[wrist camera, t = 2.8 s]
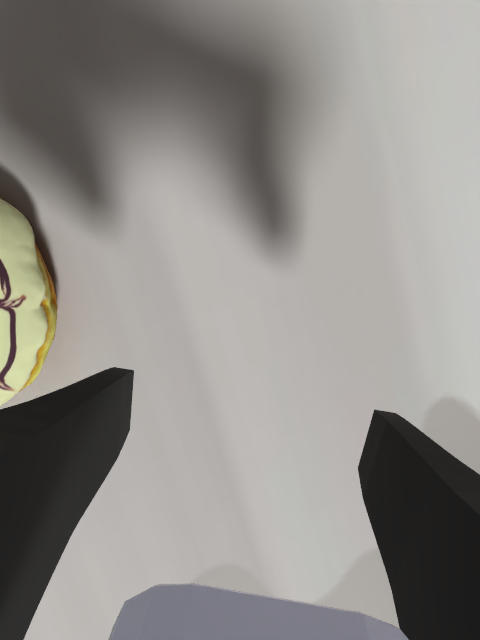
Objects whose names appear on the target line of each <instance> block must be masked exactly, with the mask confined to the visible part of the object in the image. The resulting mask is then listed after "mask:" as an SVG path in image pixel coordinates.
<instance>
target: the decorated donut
mask: <svg viewBox="0 0 480 640" xmlns="http://www.w3.org/2000/svg"><path fill="white" fill-rule="evenodd" d="M56 312H57V297H56V293H55V288H54V284H53V281H52V278H51V277H50V274H49V272H48V270H47V267H46V264H45V263H44V261H43V258H42V255H41V254H40V251H39V249H38V247H37V245H36V243H35V238H34V233H33V230H32V227H31V225H30V223H29V222H28V220H27V219H26V218H25V217H24V215H23V214H22V213H21V212H19V211H18V210H17V209H16V208H14V207H13V206H12V205H10V204H9V203H7V202H5V201H4V200H2V199H0V406H1V405H2V404H4V403H5V402H6V401H8V400H9V399H11V398H12V397H13V396H14V395H15V394H16V393H17V392H19V391H21V390H22V389H23V388H24V387H26V386H28V385H29V384H31V383H32V382H33V381H34V380H35V378H36V377H37V376H38V374H39V373H40V370H41V369H42V365H43V363H44V361H45V358H46V356H47V353H48V350H49V348H50V346H51V343H52V341H53V339H54V336H55V330H56V320H57V313H56Z"/></svg>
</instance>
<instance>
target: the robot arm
mask: <svg viewBox="0 0 480 640" xmlns="http://www.w3.org/2000/svg"><path fill="white" fill-rule="evenodd" d="M133 376H134V370H128V369H122V368H116V367H113V368H110V369H107V370H104V371H102V372H99V373H97V374H95V375H92V376H90V377H88V378H86V379H83V380H81V381H79V382H76V383H74V384H72V385H69V386H67V387H65V388H62V389H59V390H57V391H54V392H52V393H49V394H46V395H44V396H41V397H38V398H36V399H33V400H30V401H27V402H24V403H21V404H18V405H15V406H11V407H8V408H4V409H1V410H0V640H23V639H24V637H25V634H26V632H27V630H28V628H29V625H30V623H31V621H32V618H33V616H34V614H35V611H36V609H37V607H38V605H39V603H40V601H41V598H42V596H43V594H44V592H45V590H46V587H47V585H48V583H49V581H50V579H51V576H52V574H53V572H54V570H55V568H56V566H57V564H58V562H59V560H60V557H61V555H62V553H63V551H64V549H65V547H66V545H67V543H68V541H69V539H70V537H71V535H72V533H73V531H74V529H75V528H76V526H77V524H78V522H79V520H80V519H81V517H82V516H83V514H84V512H85V511H86V509H87V507H88V506H89V504H90V502H91V501H92V499H93V498H94V496H95V494H96V493H97V491H98V489H99V488H100V486H101V485H102V483H103V481H104V480H105V478H106V476H107V475H108V473H109V471H110V470H111V468H112V466H113V465H114V463H115V461H116V460H117V458H118V456H119V454H120V451H121V449H122V447H123V445H124V442H125V440H126V437H127V435H128V433H129V430H130V419H131V405H132V390H133ZM358 471H359V477H360V484H361V489H362V495H363V500H364V503H365V506H366V510H367V513H368V516H369V519H370V522H371V526H372V529H373V532H374V535H375V538H376V541H377V544H378V547H379V550H380V553H381V556H382V560H383V563H384V566H385V569H386V572H387V575H388V579H389V583H390V586H391V590H392V594H393V599H394V603H395V608H396V613H397V617H398V622H399V627H400V629H399V628H397V627H395V626H393V625H391V624H389V623H386V622H383V621H381V620H378V619H376V618H373V617H371V616H368V615H366V614H363V613H360V612H356V611H350V610H344V609H338V608H332V607H326V606H321V605H315V604H310V603H304V602H298V601H292V600H286V599H281V598H275V597H269V596H263V595H257V594H252V593H246V592H240V591H235V590H229V589H223V588H217V587H211V586H205V585H200V584H159V585H156V586H153V587H151V588H150V589H148V590H146V591H144V592H142V593H140V594H138V595H136V596H135V597H133V598H131V599H129V600H127V601H125V603H124V605H123V607H122V609H121V611H120V613H119V615H118V618H117V620H116V622H115V624H114V626H113V629H112V631H111V634H110V637H109V640H480V475H479V474H478V473H476V472H475V471H474V470H472V469H471V468H469V467H467V466H466V465H465V464H463V463H462V462H461V461H459V460H458V459H457V458H455V457H454V456H452V455H451V454H450V453H448V452H447V451H446V450H444V449H443V448H442V447H441V446H439V445H438V444H437V443H435V442H434V441H433V440H431V439H430V438H429V437H428V436H426V435H425V434H424V433H422V432H421V431H420V430H419V429H417V428H416V427H415V426H413V425H412V424H411V423H409V422H408V421H407V420H405V419H404V418H402V417H401V416H399V415H398V414H396V413H391V412H385V411H379V410H374V413H373V416H372V420H371V424H370V427H369V431H368V434H367V438H366V441H365V445H364V448H363V452H362V455H361V459H360V462H359V466H358Z"/></svg>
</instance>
